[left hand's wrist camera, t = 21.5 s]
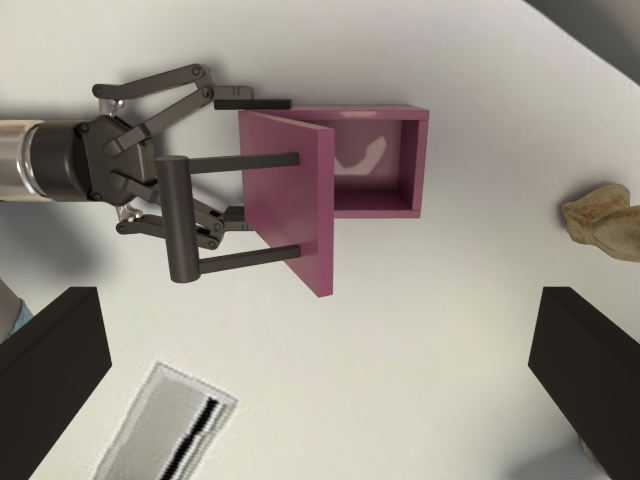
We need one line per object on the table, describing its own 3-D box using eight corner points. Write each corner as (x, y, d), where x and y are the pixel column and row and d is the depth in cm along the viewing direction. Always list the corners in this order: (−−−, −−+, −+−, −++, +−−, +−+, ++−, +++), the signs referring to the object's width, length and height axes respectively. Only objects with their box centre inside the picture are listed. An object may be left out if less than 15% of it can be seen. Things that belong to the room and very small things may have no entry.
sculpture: (622, 221, 48) (747, 278, 34) (558, 241, 49) (654, 305, 35) (616, 173, 46) (746, 212, 32) (550, 195, 47) (647, 242, 33)
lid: (335, 128, 22) (155, 136, 18) (333, 295, 25) (180, 327, 22) (249, 110, 36) (137, 113, 32) (255, 219, 39) (154, 232, 36)
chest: (409, 105, 44) (429, 110, 36) (403, 194, 47) (420, 218, 39) (258, 105, 44) (244, 110, 36) (263, 194, 47) (251, 218, 39)
